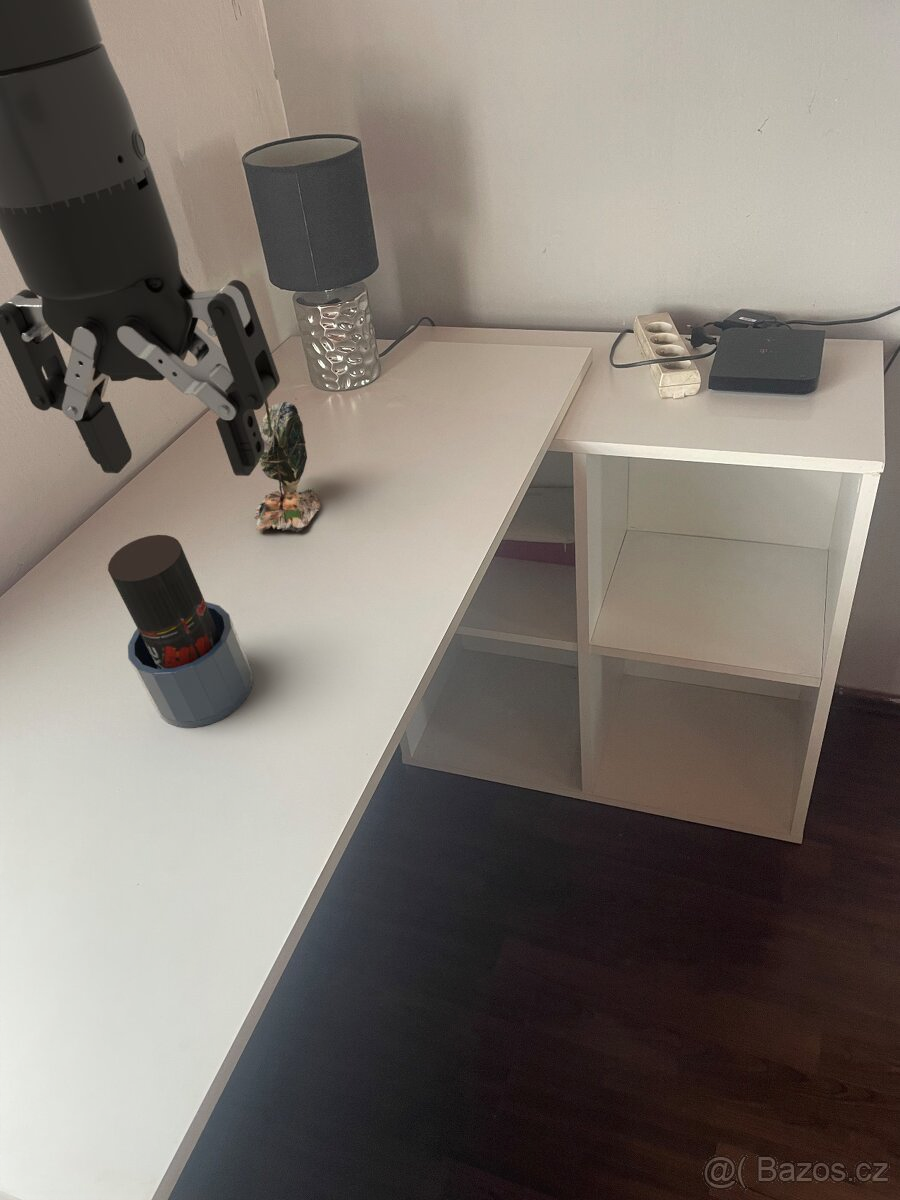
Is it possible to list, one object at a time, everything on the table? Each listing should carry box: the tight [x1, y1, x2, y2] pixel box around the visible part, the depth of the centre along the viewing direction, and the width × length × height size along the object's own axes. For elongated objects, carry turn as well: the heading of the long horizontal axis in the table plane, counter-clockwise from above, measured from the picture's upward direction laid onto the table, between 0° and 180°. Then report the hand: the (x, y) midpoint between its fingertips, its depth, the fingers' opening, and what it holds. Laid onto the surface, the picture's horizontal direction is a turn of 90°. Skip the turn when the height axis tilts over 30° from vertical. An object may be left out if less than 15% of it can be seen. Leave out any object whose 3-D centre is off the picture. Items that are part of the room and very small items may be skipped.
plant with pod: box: [254, 397, 321, 533], centre depth 94 cm, size 8×11×20 cm
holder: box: [127, 601, 254, 729], centre depth 78 cm, size 9×9×7 cm
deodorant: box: [107, 534, 220, 669], centre depth 74 cm, size 6×6×15 cm
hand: (183, 467), depth 51 cm, fingers open, 8 cm apart
